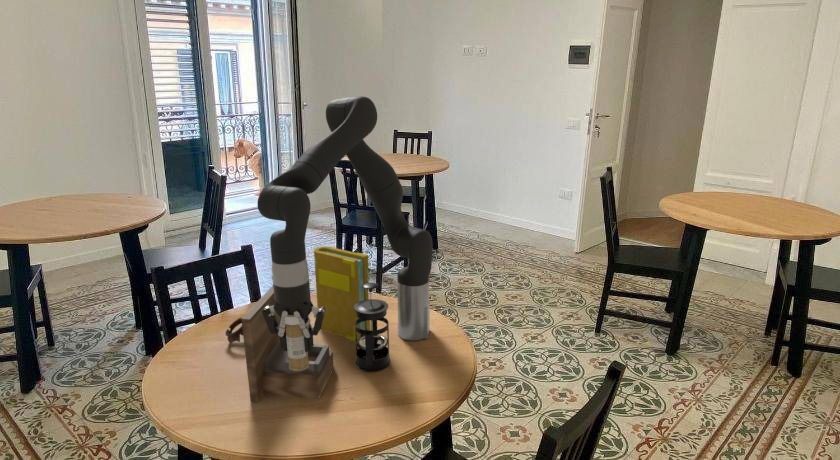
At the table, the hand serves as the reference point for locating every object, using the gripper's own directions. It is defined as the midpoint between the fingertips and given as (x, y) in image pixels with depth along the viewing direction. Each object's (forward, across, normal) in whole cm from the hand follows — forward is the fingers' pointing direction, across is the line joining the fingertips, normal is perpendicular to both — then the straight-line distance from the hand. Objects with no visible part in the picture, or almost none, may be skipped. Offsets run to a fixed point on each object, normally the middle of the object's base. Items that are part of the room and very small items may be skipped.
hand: (297, 349), depth 119 cm
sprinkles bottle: (+5, 0, 0) cm, 5 cm away
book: (+18, +1, -42) cm, 45 cm away
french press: (+18, -12, -24) cm, 32 cm away
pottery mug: (+18, +27, -33) cm, 47 cm away
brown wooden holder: (+17, +6, -14) cm, 23 cm away
